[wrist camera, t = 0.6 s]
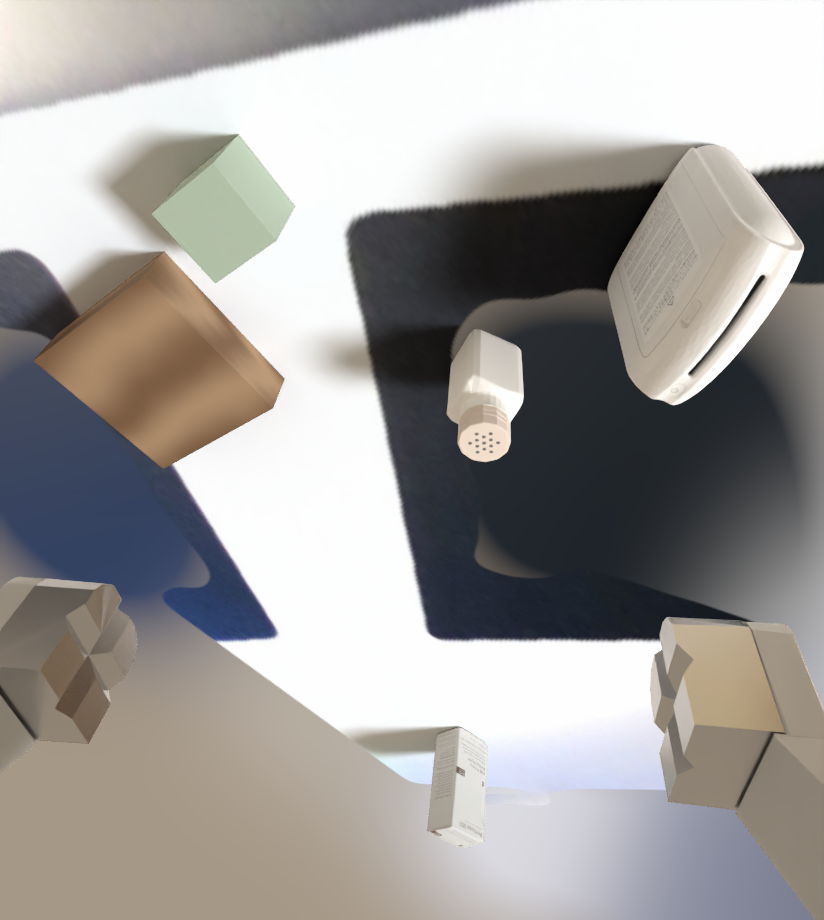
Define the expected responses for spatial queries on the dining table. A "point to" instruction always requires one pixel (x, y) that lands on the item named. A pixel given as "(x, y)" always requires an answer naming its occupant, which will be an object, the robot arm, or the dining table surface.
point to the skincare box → (458, 788)
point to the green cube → (226, 210)
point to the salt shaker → (485, 394)
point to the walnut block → (162, 364)
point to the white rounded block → (699, 274)
